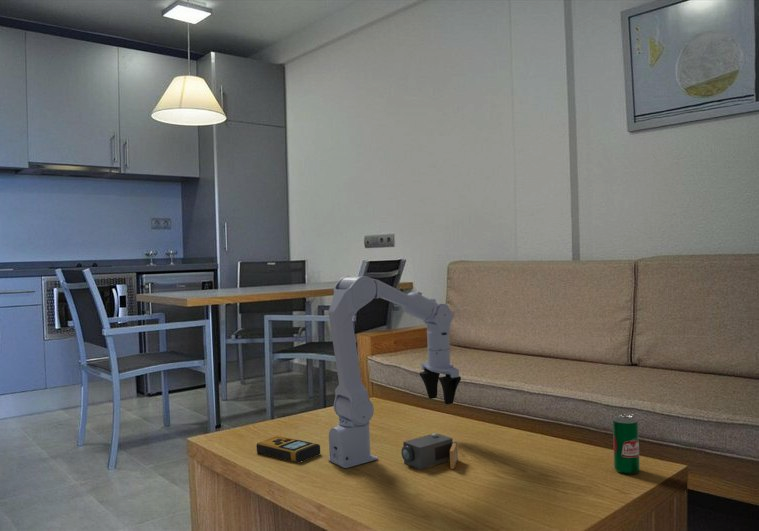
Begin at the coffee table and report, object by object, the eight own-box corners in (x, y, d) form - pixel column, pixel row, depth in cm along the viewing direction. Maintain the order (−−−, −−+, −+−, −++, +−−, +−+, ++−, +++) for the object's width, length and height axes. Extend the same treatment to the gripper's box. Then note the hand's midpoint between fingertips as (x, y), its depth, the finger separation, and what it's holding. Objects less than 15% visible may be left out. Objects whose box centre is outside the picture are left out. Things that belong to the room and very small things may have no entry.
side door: (454, 469, 138) (453, 450, 138) (450, 469, 139) (449, 450, 139) (458, 459, 145) (457, 441, 145) (453, 459, 145) (453, 441, 145)
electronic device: (279, 446, 164) (278, 433, 164) (321, 455, 154) (321, 442, 154) (254, 455, 157) (253, 441, 157) (297, 465, 147) (296, 451, 147)
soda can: (624, 476, 130) (622, 419, 130) (609, 468, 135) (607, 414, 134) (645, 473, 131) (642, 417, 131) (629, 465, 136) (627, 411, 136)
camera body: (417, 470, 139) (415, 446, 139) (400, 464, 144) (399, 440, 144) (453, 459, 145) (452, 435, 145) (436, 453, 150) (435, 430, 150)
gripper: (467, 350, 157) (469, 403, 157) (435, 344, 170) (437, 393, 170) (444, 353, 153) (447, 408, 154) (414, 347, 166) (416, 397, 166)
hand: (440, 400), depth 161 cm, fingers open, 7 cm apart
